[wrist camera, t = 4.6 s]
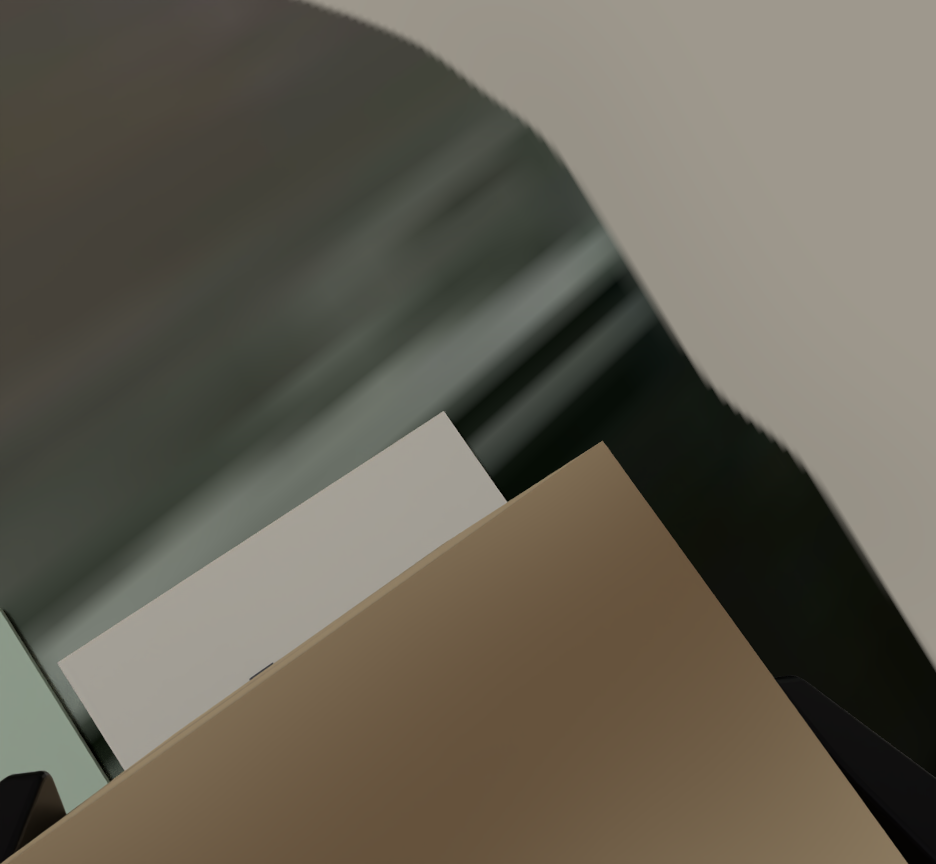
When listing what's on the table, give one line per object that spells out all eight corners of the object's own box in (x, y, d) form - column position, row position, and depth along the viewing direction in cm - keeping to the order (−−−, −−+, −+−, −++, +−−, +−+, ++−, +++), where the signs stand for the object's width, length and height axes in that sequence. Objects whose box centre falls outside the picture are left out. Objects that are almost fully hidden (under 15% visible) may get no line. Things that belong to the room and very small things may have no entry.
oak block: (617, 798, 15) (1082, 1104, 6) (359, 1022, 14) (414, 1937, 4) (442, 544, 16) (603, 440, 6) (175, 732, 14) (-141, 969, 5)
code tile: (683, 760, 22) (689, 762, 22) (321, 1077, 19) (320, 1085, 19) (442, 413, 23) (443, 410, 23) (61, 662, 20) (56, 662, 20)
